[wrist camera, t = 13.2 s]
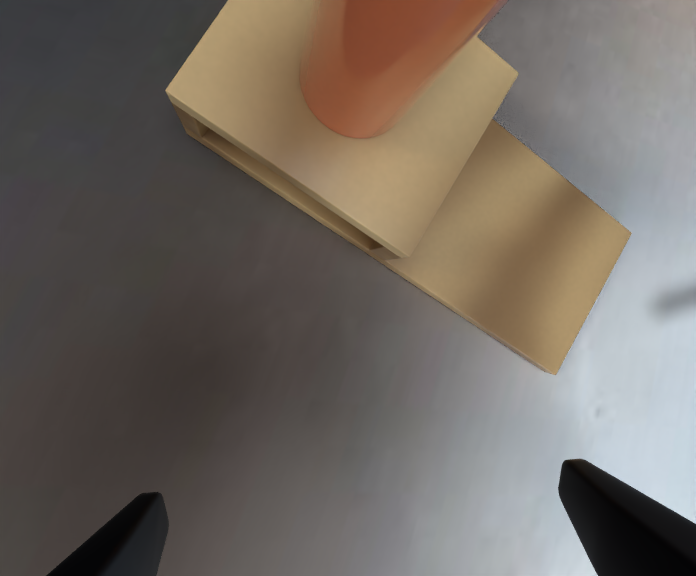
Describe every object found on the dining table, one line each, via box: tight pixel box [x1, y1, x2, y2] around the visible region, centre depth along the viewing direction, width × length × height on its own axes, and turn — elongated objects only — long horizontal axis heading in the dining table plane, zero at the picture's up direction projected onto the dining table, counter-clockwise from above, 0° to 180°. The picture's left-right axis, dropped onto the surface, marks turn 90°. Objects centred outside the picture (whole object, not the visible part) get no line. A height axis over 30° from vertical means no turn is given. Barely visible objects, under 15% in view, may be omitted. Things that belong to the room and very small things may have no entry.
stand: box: [166, 0, 631, 375], centre depth 20 cm, size 24×10×4 cm, turn 57°
